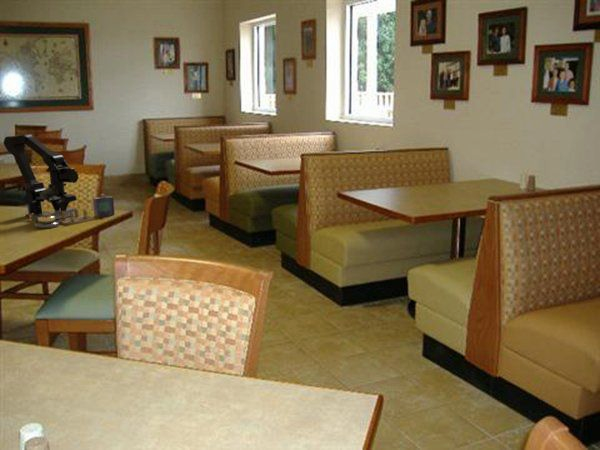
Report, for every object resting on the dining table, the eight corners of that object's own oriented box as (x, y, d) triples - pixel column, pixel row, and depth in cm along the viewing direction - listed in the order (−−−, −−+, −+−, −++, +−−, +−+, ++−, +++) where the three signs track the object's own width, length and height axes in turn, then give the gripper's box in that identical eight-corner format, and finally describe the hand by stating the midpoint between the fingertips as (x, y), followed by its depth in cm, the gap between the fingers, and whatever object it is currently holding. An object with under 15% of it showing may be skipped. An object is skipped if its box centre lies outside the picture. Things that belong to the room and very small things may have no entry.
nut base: (30, 227, 270) (28, 212, 268) (50, 222, 278) (48, 208, 276) (44, 229, 264) (42, 215, 263) (64, 225, 272) (62, 211, 271)
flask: (94, 217, 288) (92, 194, 286) (94, 216, 291) (92, 194, 289) (115, 215, 292) (113, 193, 290) (114, 214, 295) (112, 192, 292)
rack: (55, 223, 277) (54, 212, 276) (81, 217, 289) (80, 206, 287) (68, 225, 272) (67, 214, 271) (94, 219, 284) (93, 209, 283)
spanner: (39, 220, 282) (39, 213, 281) (68, 214, 294) (68, 208, 294) (46, 221, 279) (46, 215, 278) (75, 215, 292) (75, 209, 291)
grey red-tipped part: (58, 221, 271) (58, 215, 271) (44, 224, 266) (44, 218, 265) (37, 217, 280) (37, 212, 279) (23, 220, 274) (23, 214, 273)
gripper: (29, 182, 282) (32, 215, 286) (54, 185, 272) (57, 220, 276) (50, 179, 291) (53, 211, 295) (75, 182, 281) (78, 215, 285)
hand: (60, 214), depth 287 cm, fingers closed on spanner, 3 cm apart
